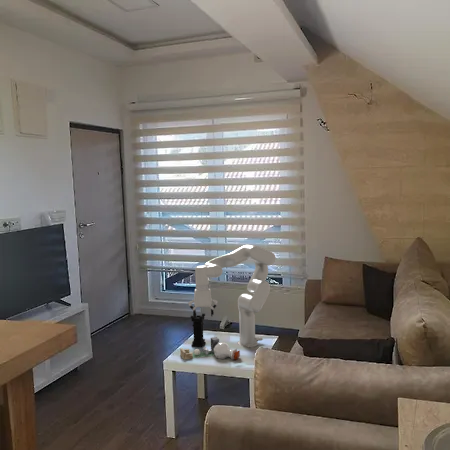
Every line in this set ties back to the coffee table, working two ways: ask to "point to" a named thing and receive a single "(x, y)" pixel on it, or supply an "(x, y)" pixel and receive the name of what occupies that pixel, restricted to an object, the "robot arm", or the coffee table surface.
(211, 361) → the coffee table surface
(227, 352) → the potion bottle
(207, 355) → the felt board
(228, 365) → the coffee table surface
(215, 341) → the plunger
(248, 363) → the coffee table surface
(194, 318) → the chess piece
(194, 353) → the ball
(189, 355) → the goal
